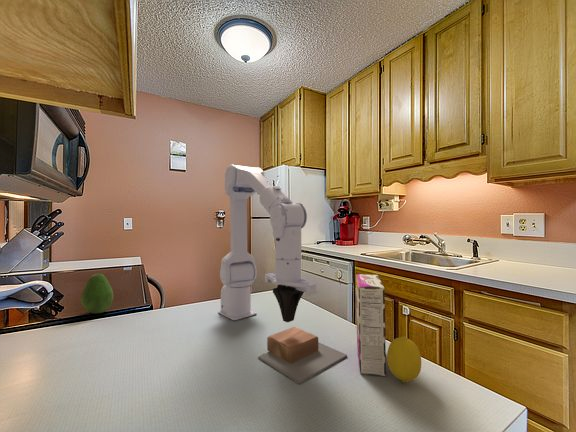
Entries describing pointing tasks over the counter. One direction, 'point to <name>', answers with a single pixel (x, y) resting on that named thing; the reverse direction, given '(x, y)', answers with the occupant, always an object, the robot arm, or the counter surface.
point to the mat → (305, 363)
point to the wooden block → (292, 344)
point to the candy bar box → (370, 324)
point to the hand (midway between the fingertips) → (288, 320)
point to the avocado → (97, 294)
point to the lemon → (404, 359)
